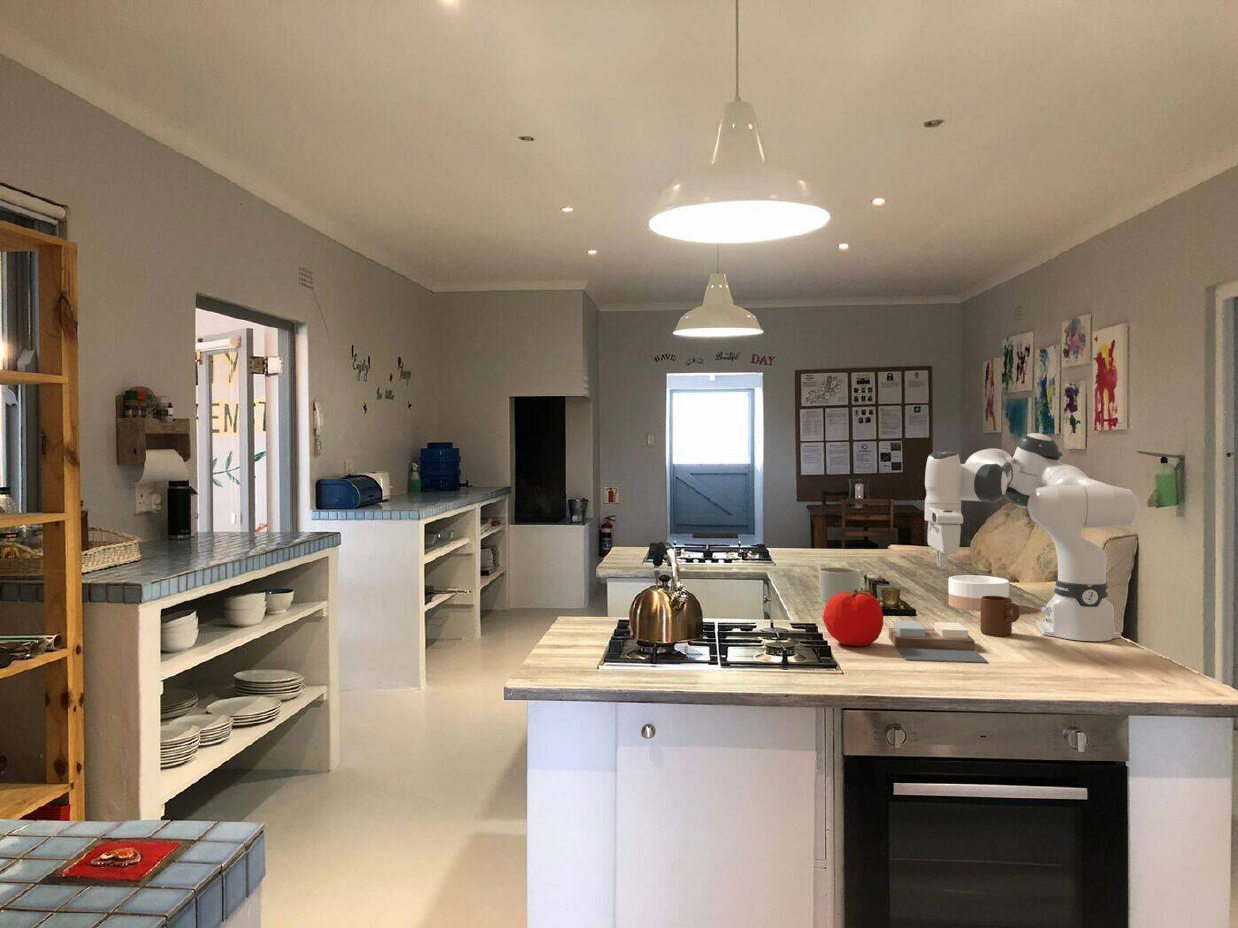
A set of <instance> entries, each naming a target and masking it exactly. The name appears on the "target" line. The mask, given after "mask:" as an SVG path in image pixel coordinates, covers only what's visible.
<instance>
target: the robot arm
mask: <svg viewBox="0 0 1238 928" xmlns="http://www.w3.org/2000/svg"><path fill="white" fill-rule="evenodd" d="M1014 451H1015V452H1014V454H1013V456H1012V455H1011V454H1009V453H1008V452H1007V451H1005V450H1004V449H1001V448H1000V449H999V448H986V449H985V448H984V449H981V450H978V451H976V452H974V453H973V454H972V453H971V455H970V456H969V457H968V458H967V460H965V463H961V460H960V456H959V455H960V454H959V453H958V452H955V451H952V450H942V451H935V452H932V453H930V454H929V455H928V457H927V458H926V459H927V460H926V466H925V476H924V486H925V490H926V491H925V493H926V496H925V498H924V520H925V521H927V522H928V523H927V524H928V525H927V536H926V537H927V538H926V539H927V545H928V547H931V548H933V549H935V554H936V566H937V567H938V568H940V569H946V568H947V567H948V560H949V555H957V554H958V553H959V550H960V545H961V534H962V533H961V530H962V528H961V525H962V524H964V516H963V514H962V501H971V502H972V501H973V502H984V503H985V502H986V503H992V504H995V503H997V502H999V501H1000V500H1002V498H1004V497H1005V499H1006V500H1007V501H1008V502H1010V503H1012V504H1013V505H1015V506H1017V507H1021V508H1027V511H1028V514H1029V516H1030V518H1031V519H1032V521H1033V522H1034V523H1035V524H1036V525H1038V526H1040V527H1041V528H1042V529H1043V530H1045V532H1046V533H1047V534H1048V535H1049V537H1050V538H1051V541H1052V543H1053V545H1054V547H1055V551H1056V561H1057V579H1056V580H1055V584H1054V595H1053V596H1052V597H1051V598H1050V600H1049V601H1048V603H1047V604H1046V605H1045V606H1041V607H1040V608H1041V609H1040V615H1041V616H1043V617H1044V619H1045V620H1036V622H1035V625H1036V627H1037V628H1038V631H1040V633H1041V635H1043V636H1049V637H1056V638H1060V639H1067V640H1072V641H1073V640H1074V641H1082V642H1083V641H1084V642H1108V641H1111V640H1113V639H1119V638H1121V633H1120V632H1118V631H1115V615H1114V606H1113V604H1112V603H1111V602H1109V600H1108V599H1107V598H1108V596H1109V585H1108V582H1106V581H1107V555H1106V552H1105V551H1104V550H1103V548H1102V547H1100V546H1099V545H1097V544H1095V543H1093V542H1091V541H1089V540H1087V539H1085V538H1084V537H1082V534H1081V529H1103V530H1104V529H1106V530H1107V529H1108V530H1112V529H1119V528H1125V527H1130V526H1132V525H1133V524H1134V523H1135V522H1136V521H1137V519H1138V517H1139V515H1140V512H1141V511H1140V510H1141V505H1140V500H1139V498H1138V497H1137V495H1136V494H1135V492H1133V490H1131V489H1129V488H1126V487H1121V486H1115V485H1112V484H1108V483H1104V482H1103V481H1099V480H1096V479H1093V478H1089V476H1088V475H1087V474H1086V473H1085V472H1084V471H1082V470H1081V469H1080V468H1078V467H1076V466H1074V465H1072V464H1068V463H1063V462H1061V459H1060V458H1061V457H1063V456H1064V455H1063V452H1061V451H1060V450H1059V446H1058V444H1057V443H1056V441H1055V439H1053V438H1052V437H1049V436H1048V435H1046V434H1043V433H1037V432H1033V433H1031V432H1030V433H1025V434H1023V435H1021V436H1020V438H1019V439H1018V441H1017V443H1016V449H1015V450H1014Z"/></svg>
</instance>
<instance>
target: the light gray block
mask: <svg viewBox="0 0 1238 928" xmlns="http://www.w3.org/2000/svg"><path fill="white" fill-rule="evenodd" d="M893 628H894V630H895V631H896V632H897V634H898V635H899V636H900V637H925V629H926V628H925V627H924V626H923V625H922V624H921V623H920V622H919V621H908V620H907V621H905V620H904V621H899V620H894V621H893Z"/></svg>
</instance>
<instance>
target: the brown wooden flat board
mask: <svg viewBox="0 0 1238 928" xmlns="http://www.w3.org/2000/svg"><path fill="white" fill-rule="evenodd" d="M888 639H889V640H890V641H891V642H892V644H893V645H894V647H895V648H896V649H897V647H907V648H938V649H969V650H975V651H976V649H975V648H976V647H975V639H974V638H973V637H971V636H970V635H969V634H968V639H965V638H942V637H941V636H940V635H939V634H938V633H937V632H936V631H935V630H934V628H925V637H900V636H899V635H898V634H897V632H896V631H895V630H894V627H888Z"/></svg>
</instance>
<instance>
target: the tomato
mask: <svg viewBox="0 0 1238 928" xmlns="http://www.w3.org/2000/svg"><path fill="white" fill-rule="evenodd" d="M868 590H869V588H866V589H864V590H860V591H859V592H858V590H857V589H855V590H854V591H851V592H850V591H846V592H843V593H840V594H837V595H834V596H833V597H832V598H830V600H829V601H828V603H827V604H826V603H825V607H824V610H823V614H822V619H823V623H824V626H825V628H826V630H827V632H828V633H829V635H830V636H831V637H832V638H833V639H835V640H836V641H837V642H838V643H840V644H842V645H845V646H854V647H865V646H869V645H871V644H872V643H874V642H876V640H878V639H879V637H880V635H881V633H882V631H883V626H884V614H883V609H882V606H881V604H880V602H879V601H878V599H877V598H876V597H875V596H874V595H872V593H869V592H866V591H868Z"/></svg>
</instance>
